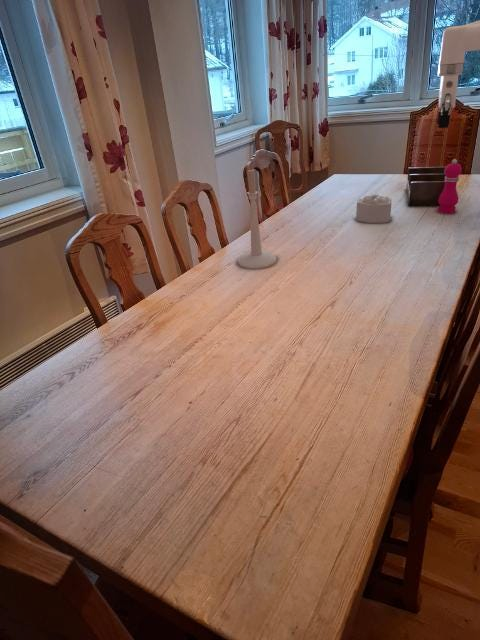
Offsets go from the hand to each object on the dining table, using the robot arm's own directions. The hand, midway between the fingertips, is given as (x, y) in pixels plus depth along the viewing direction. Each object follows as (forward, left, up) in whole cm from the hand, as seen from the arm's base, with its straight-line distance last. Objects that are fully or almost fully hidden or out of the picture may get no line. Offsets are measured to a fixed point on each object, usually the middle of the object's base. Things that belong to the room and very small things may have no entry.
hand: (442, 125), depth 153 cm
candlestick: (+57, +51, -33) cm, 83 cm away
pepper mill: (-6, -5, -33) cm, 34 cm away
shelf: (-1, -26, -33) cm, 42 cm away
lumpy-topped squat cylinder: (+21, +5, -33) cm, 39 cm away
